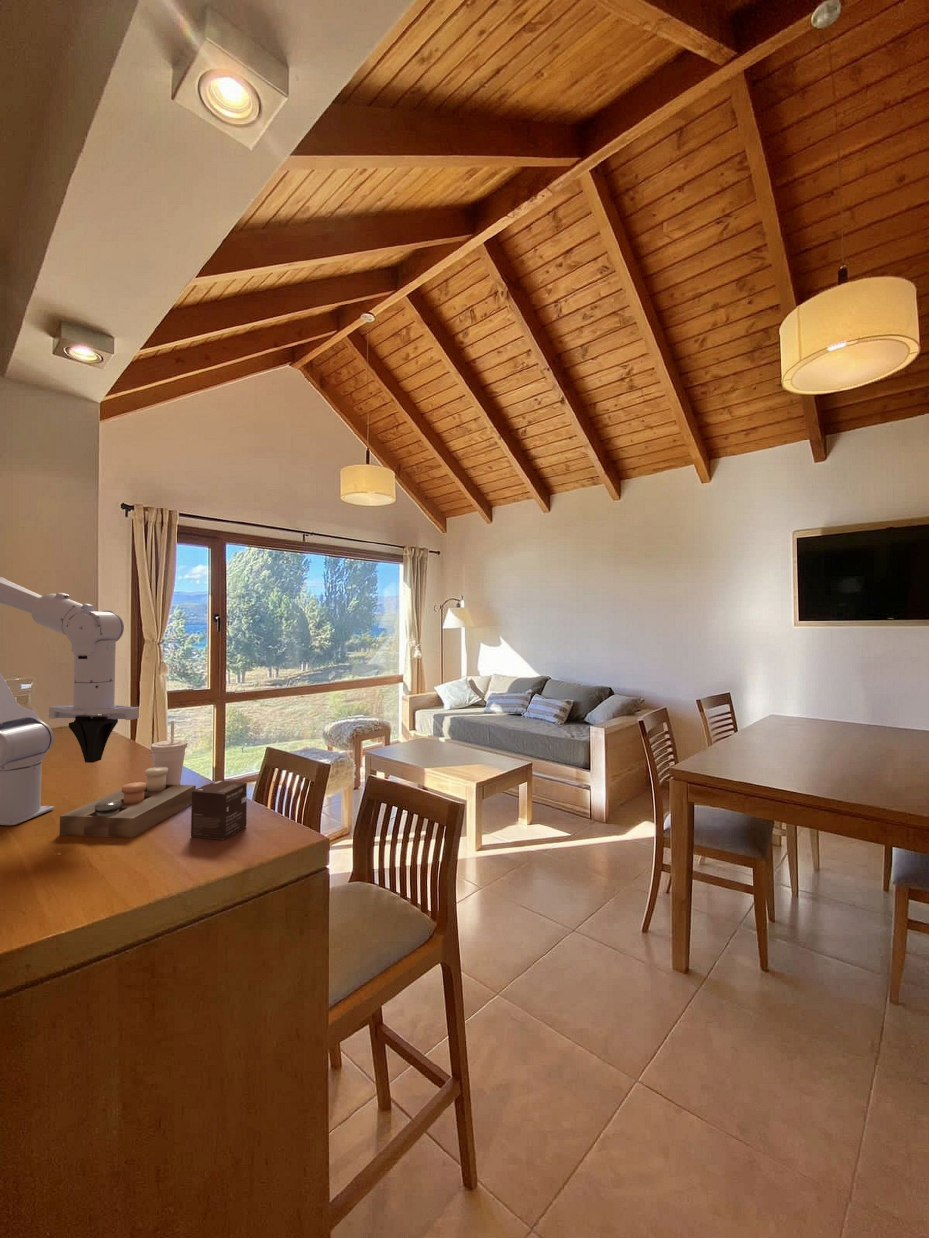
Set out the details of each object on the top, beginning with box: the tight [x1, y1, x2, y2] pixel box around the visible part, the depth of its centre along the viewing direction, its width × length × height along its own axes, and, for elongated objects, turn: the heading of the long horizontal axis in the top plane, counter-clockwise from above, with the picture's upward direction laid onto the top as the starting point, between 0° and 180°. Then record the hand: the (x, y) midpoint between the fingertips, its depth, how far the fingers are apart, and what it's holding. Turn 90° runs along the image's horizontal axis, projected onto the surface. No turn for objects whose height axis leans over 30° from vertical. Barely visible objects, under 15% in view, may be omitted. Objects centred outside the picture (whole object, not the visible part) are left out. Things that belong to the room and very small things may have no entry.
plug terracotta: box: [121, 781, 147, 803], centre depth 90 cm, size 4×4×4 cm
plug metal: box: [95, 800, 122, 816], centre depth 84 cm, size 4×4×4 cm
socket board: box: [59, 783, 197, 839], centre depth 90 cm, size 12×17×3 cm
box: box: [190, 780, 248, 841], centre depth 84 cm, size 6×6×7 cm
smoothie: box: [150, 720, 189, 785], centre depth 103 cm, size 6×6×14 cm
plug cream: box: [144, 766, 168, 792], centre depth 96 cm, size 4×4×4 cm
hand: (93, 761), depth 88 cm, fingers closed
